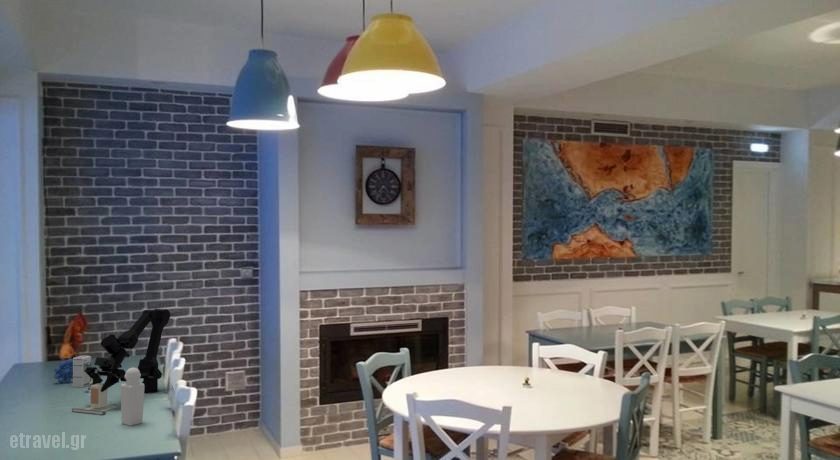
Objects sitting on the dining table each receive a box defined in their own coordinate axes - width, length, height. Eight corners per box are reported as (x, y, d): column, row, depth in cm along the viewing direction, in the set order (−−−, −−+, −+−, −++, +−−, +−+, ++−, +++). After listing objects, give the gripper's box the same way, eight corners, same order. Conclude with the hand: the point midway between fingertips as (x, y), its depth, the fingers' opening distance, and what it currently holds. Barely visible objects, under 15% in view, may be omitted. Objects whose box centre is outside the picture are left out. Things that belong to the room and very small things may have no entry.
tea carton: (98, 404, 279) (98, 383, 279) (107, 404, 278) (107, 384, 278) (89, 407, 275) (90, 385, 275) (98, 407, 274) (99, 386, 274)
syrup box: (83, 387, 313) (83, 357, 313) (72, 387, 314) (72, 357, 314) (91, 385, 319) (91, 355, 319) (80, 384, 320) (81, 355, 320)
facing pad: (116, 407, 280) (116, 406, 280) (99, 413, 270) (99, 412, 270) (97, 405, 283) (97, 404, 283) (79, 411, 273) (79, 410, 273)
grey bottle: (129, 426, 254) (130, 370, 254) (119, 423, 257) (120, 368, 257) (144, 422, 259) (145, 367, 259) (134, 419, 263) (135, 365, 263)
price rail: (105, 414, 270) (105, 411, 270) (103, 415, 268) (103, 412, 268) (74, 410, 274) (74, 408, 274) (71, 411, 273) (71, 408, 273)
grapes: (80, 380, 329) (80, 356, 329) (80, 383, 323) (80, 358, 323) (54, 382, 324) (54, 358, 324) (53, 385, 318) (53, 360, 318)
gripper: (88, 348, 283) (68, 379, 272) (124, 350, 278) (105, 382, 267) (101, 362, 290) (82, 393, 280) (136, 365, 285) (118, 396, 275)
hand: (96, 391), depth 275 cm, fingers closed on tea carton, 4 cm apart
